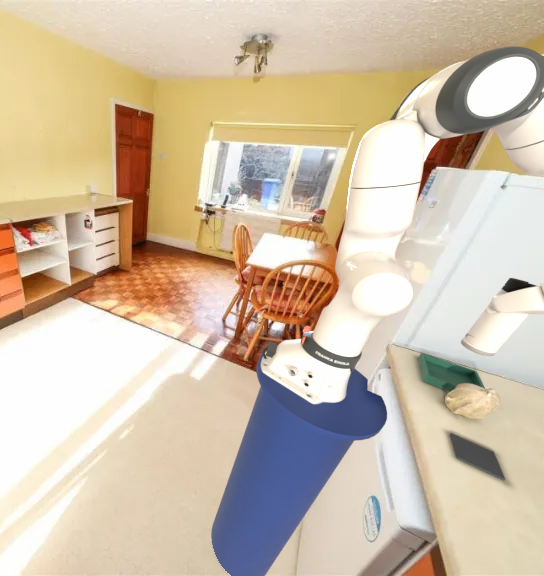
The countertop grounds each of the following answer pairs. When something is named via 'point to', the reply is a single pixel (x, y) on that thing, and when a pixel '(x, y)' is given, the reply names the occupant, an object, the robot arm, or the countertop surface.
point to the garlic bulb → (472, 400)
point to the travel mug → (495, 324)
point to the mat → (476, 456)
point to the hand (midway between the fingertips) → (502, 311)
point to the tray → (446, 373)
